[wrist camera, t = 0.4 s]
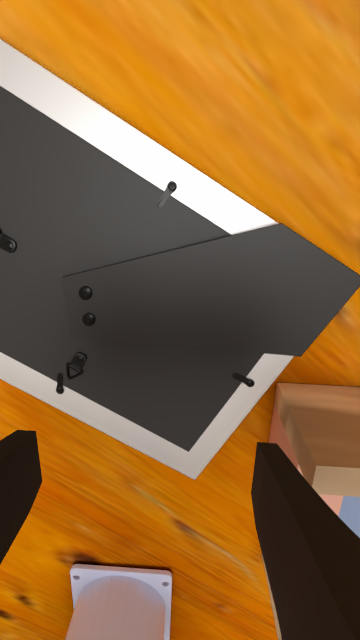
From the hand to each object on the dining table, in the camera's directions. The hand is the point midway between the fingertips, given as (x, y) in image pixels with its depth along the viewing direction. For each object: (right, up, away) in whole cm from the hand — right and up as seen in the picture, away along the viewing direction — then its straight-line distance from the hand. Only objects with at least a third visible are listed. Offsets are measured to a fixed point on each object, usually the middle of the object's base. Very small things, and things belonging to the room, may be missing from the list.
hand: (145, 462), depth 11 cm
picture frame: (-3, +7, +9) cm, 12 cm away
